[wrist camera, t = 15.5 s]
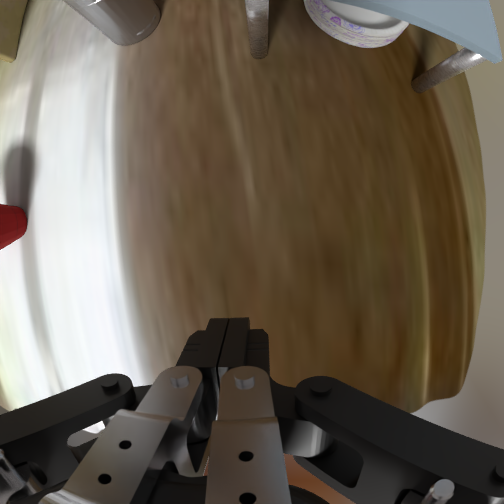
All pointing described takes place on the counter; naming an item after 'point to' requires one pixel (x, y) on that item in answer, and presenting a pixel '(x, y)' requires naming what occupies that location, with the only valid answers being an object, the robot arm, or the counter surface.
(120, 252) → the counter surface
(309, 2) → the paper bowls
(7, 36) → the beige rectangular block
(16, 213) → the plastic cup
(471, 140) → the counter surface
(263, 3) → the small side table
